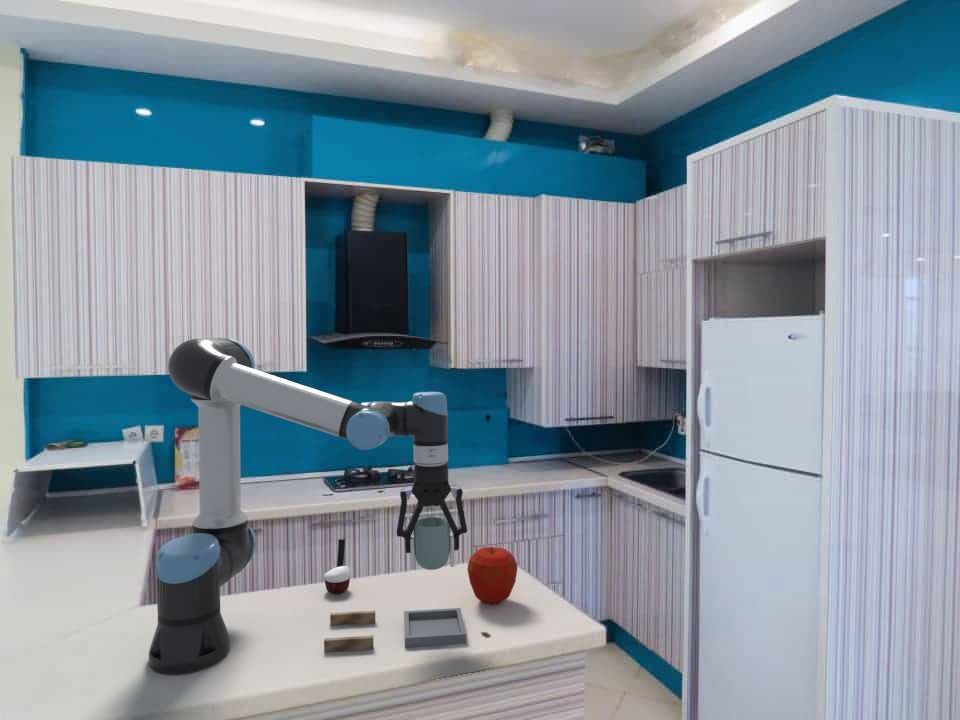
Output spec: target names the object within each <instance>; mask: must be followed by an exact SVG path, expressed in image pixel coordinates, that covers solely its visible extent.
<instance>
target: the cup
mask: <svg viewBox="0 0 960 720" xmlns="http://www.w3.org/2000/svg"><path fill="white" fill-rule="evenodd" d="M450 534H451V528H450V526H449V523H448V521H447V519H446V517H440V516H426V517H422V518H418V521H417V523H416V524H415V528H414V530H413V536H414V558H415V560H416V563H417V565H418V566H419V567H421V568H422V569H425V570H428V571H429V570H430V571H435V570H439V569H441V568H443V567H444V566H445V565H446V564H447V563H448V561H449V559H450Z"/></svg>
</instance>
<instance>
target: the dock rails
mask: <svg viewBox="0 0 960 720" xmlns="http://www.w3.org/2000/svg"><path fill="white" fill-rule="evenodd" d="M329 617H330V618H329V623H330V624H329V625H330V627H336V626H337V627H338V626H340V627H341V626H354V625H369V624H370V625H373V624H376V610H365V611H348V612H347V611H346V612H344V611H343V612H331V613H330V614H329ZM374 644H375V643H374V635H360V636H359V635H358V636H343V637H330V638H328V637H327V638H324V640H323V651H324V653H326V654H327V653H339V652H340V653H341V652H356V651H370V650H374V646H375V645H374Z"/></svg>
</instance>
